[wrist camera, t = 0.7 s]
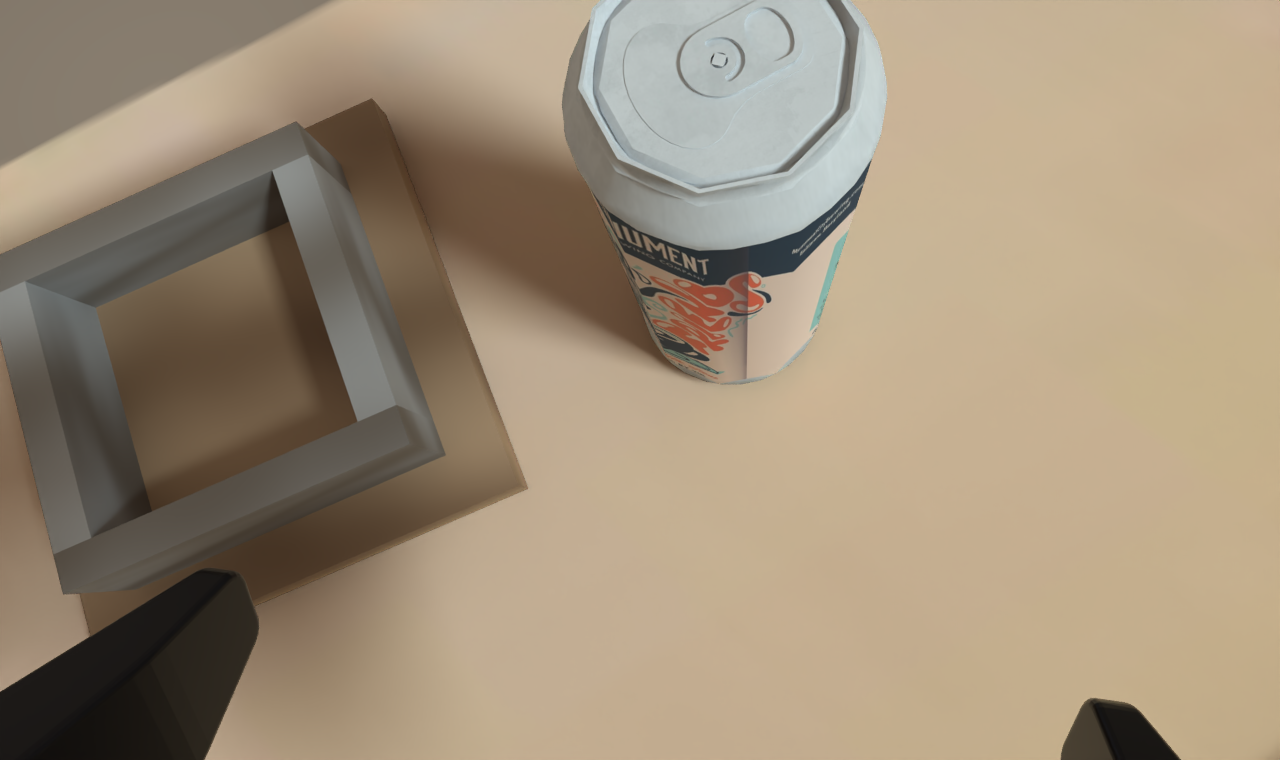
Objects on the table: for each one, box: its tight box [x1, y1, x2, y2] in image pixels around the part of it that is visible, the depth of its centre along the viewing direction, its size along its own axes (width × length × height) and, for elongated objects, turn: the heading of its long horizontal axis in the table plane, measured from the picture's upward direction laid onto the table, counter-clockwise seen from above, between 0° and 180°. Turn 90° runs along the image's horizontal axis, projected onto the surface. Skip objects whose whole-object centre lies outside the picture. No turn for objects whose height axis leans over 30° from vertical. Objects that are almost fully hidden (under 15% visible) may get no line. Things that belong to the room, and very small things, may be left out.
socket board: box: [0, 99, 528, 636], centre depth 23 cm, size 12×12×4 cm
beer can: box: [562, 0, 887, 384], centre depth 18 cm, size 5×5×12 cm
